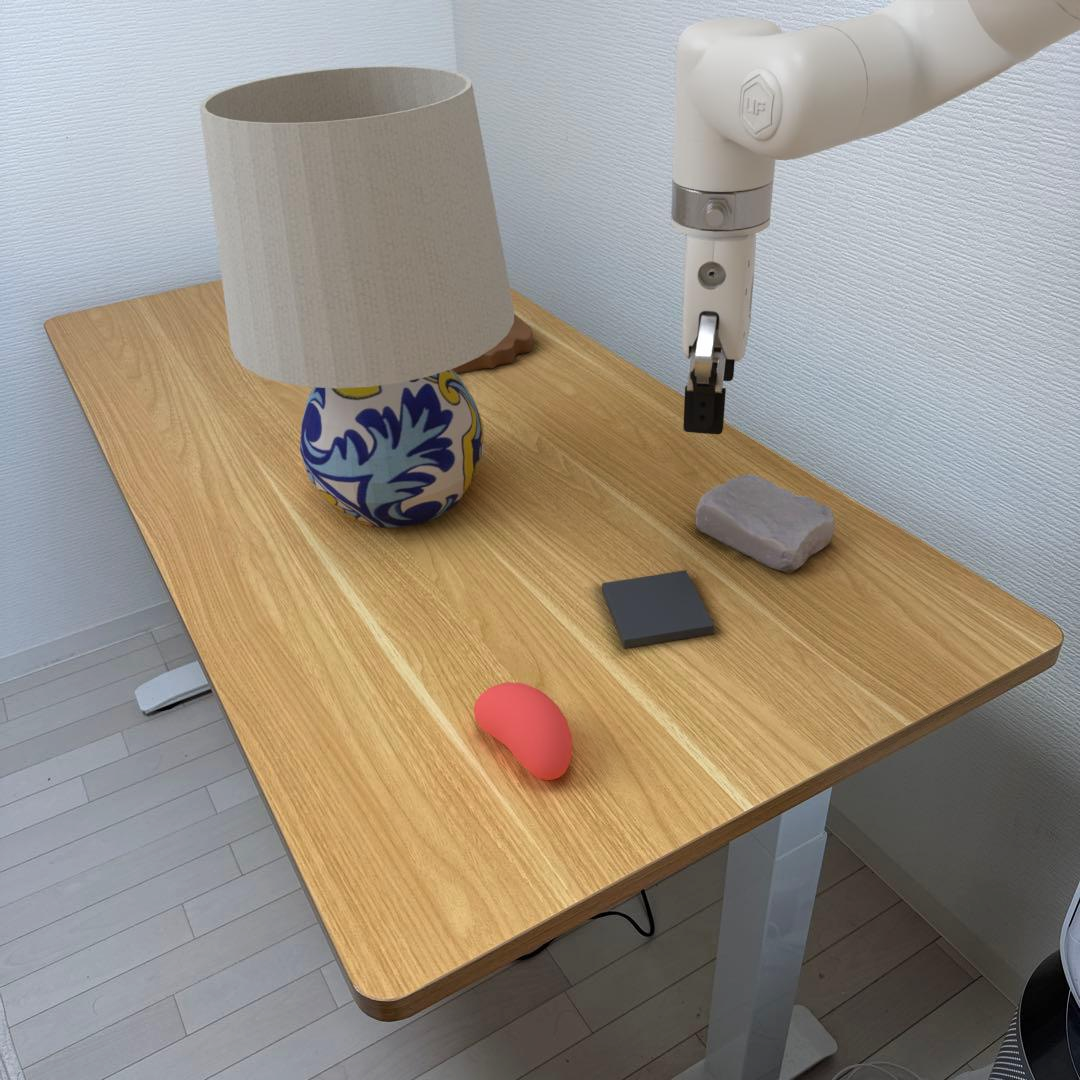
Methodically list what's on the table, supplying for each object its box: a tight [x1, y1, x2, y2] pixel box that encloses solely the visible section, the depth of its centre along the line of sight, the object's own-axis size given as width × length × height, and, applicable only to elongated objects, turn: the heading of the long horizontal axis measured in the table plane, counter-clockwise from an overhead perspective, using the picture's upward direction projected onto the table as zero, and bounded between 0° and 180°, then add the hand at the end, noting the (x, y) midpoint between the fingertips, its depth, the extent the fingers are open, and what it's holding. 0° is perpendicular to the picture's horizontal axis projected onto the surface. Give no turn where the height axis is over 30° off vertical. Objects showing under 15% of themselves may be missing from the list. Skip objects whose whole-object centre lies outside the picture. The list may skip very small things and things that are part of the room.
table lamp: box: [199, 65, 515, 529], centre depth 92 cm, size 27×27×40 cm
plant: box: [453, 313, 534, 374], centre depth 131 cm, size 20×20×11 cm
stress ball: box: [473, 681, 573, 781], centre depth 73 cm, size 5×9×6 cm, turn 29°
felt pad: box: [601, 570, 715, 649], centre depth 85 cm, size 8×8×1 cm
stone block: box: [694, 473, 836, 574], centre depth 94 cm, size 12×5×10 cm
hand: (709, 404), depth 83 cm, fingers open, 9 cm apart
